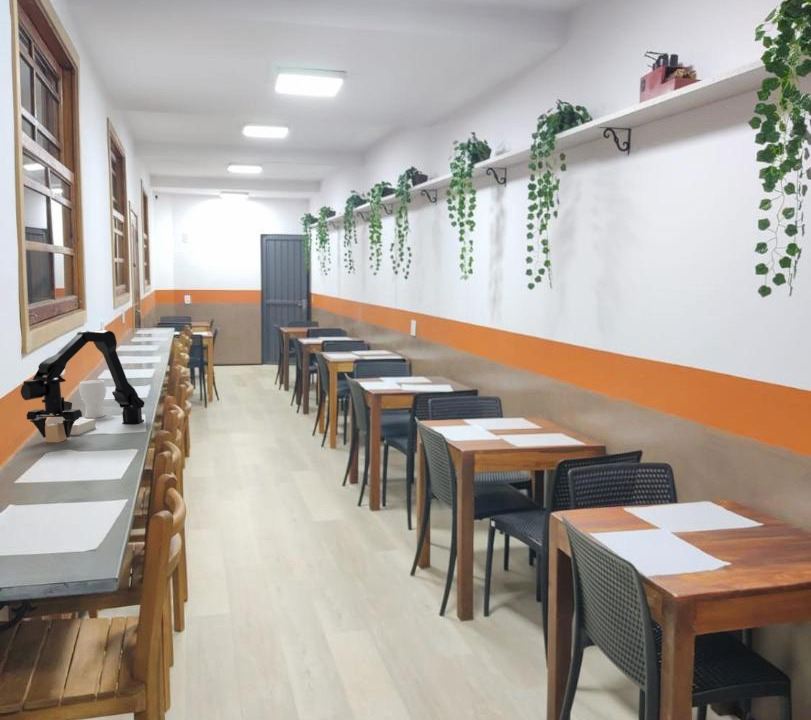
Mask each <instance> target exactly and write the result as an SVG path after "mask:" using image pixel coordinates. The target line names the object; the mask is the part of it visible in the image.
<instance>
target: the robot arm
mask: <svg viewBox="0 0 811 720" xmlns="http://www.w3.org/2000/svg"><path fill="white" fill-rule="evenodd" d="M117 341H118V340H117V337H116V335H115V332H113V331H111V330H96V331H89V330H80V331H78V332H77V333H76V335H75V336H74V337H72V338H71V340H70V341H68V342H67V344H65V345H64V347H62V348H61V349H60V350H59V351H58V352H57V353H56V354H54V355H52V356H50V357H48V358H46V359H44V360H43V361H42V362H39V364H38V369H37V371H36V373H35V375H34V376H33V378H32V380H24V381H23V384H22V385H21V387H20V396H21V397H22V399H23V400H25V401H30V400H36V399H42V398H43V399H42V400H41V402H42V403H44V409H41V408H40V409H37V408H35V409H33V410H29V411H27V413H26V420H29V422H31V423H32V424H33V425H34V426H35V427H36V428H37V430H38V432H39V433H40V434H41V436H42V438H45V439H46V434H45V426H47V425H46V421H47V418H63V419H64V420H62V423H63V425H64V430H65V434H66V437H67V439H68V438H70V436H71V435H70V433H71V429H72V426H73V424H74V422H76V421H78V420H79V419H80V418H82V417H83V412H82V410H81V409H80V408H79V409H76V408H75V409H72V408H73V402H72V401H71V402H70V401H66V400H65V398H64V396H62V390H61V389H62V388H61V383H64V382H66V379H65V378H64V377H62V376H61V374H63V372H64V371H65V369H66V367H67V364H68V362H69V361H70V360H71V359H72V358H73V357H74V356H75V355H77V353H78V352H79V351H81V350H82V348H84V347H85V345H87V343H89V342H90V343H93V344H94V346H95V348H96V349H97V350H98V351H99V352H100V353H102V356H103V357H104V360H105V362H106V365H107V367H108V369H109V372H110V375H111V378H112V381H113V383H114V386H115V388H114V391H112V395H113V398H114V401H115V402H116V403H117V404H118V405H119V407H120V408H122V413H121V414H122V423H121V424H122V425H123V424H124V425H138V424H140V423H142V422H144V421H145V419H144V418H143V413H142V409H143V408H144V407H145V401H144V400H143V399H142V398H140V397H139V394H138V392H137V390H136V389H135V388H134V387H133V386H132V385H131V384H130V383H129V381H128V378H127V376H126V374H125V371H124V367H123V365H122V363H121V360H120V358H119V355H118V353H117V345H118V343H117Z"/></svg>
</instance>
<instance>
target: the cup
mask: <svg viewBox="0 0 811 720" xmlns="http://www.w3.org/2000/svg"><path fill="white" fill-rule="evenodd" d="M78 391H79V396H80V399H81V400H82V402H83V403H84V407H85V416H84V417H85V419H95V418H96V419H97V418H101V417H105V415H106V414H105V411H104V410H105V409H104V408H103V407H104V400H105V398H106V394H107V386H106V382H105V380H104V379H90V380H83V381H80V382H79V386H78Z"/></svg>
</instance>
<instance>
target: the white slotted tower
mask: <svg viewBox="0 0 811 720" xmlns="http://www.w3.org/2000/svg"><path fill="white" fill-rule="evenodd" d="M96 427H97V426H96V419H95V418H82V419H80V420H79V419H78V420H76V421H75V422H74V424H73V426H72V429H71V433H70V436H74V435H75V436H79V435H81V434H84V433H86V432H89V431H90V430H91V431H92V430H94V429H96Z"/></svg>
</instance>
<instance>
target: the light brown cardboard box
mask: <svg viewBox="0 0 811 720" xmlns="http://www.w3.org/2000/svg"><path fill="white" fill-rule="evenodd" d="M45 434H46V437H45V442H46V443H61V442H63V441H66V440H68V438H67V437H66V434H65V430H64V425H63V422H53V423H49V424H47V425H46V426H45Z"/></svg>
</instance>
